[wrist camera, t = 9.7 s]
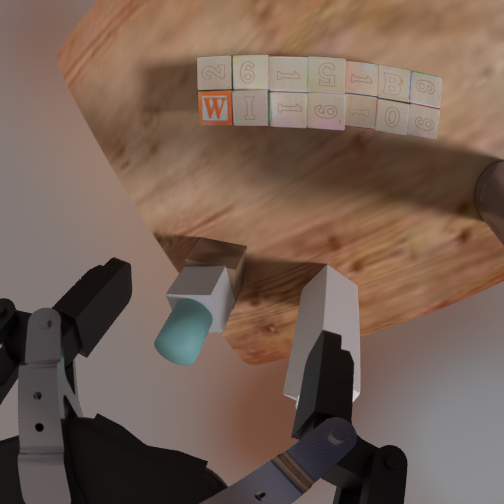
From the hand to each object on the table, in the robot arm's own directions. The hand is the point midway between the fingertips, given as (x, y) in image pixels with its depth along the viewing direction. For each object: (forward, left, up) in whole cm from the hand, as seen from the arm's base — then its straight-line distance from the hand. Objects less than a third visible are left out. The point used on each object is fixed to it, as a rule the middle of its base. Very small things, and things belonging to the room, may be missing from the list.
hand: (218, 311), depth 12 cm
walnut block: (+5, +20, -29) cm, 36 cm away
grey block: (+5, +20, -23) cm, 31 cm away
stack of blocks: (-2, -8, -30) cm, 31 cm away
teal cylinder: (+5, +20, -17) cm, 27 cm away
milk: (-11, +18, -29) cm, 36 cm away
